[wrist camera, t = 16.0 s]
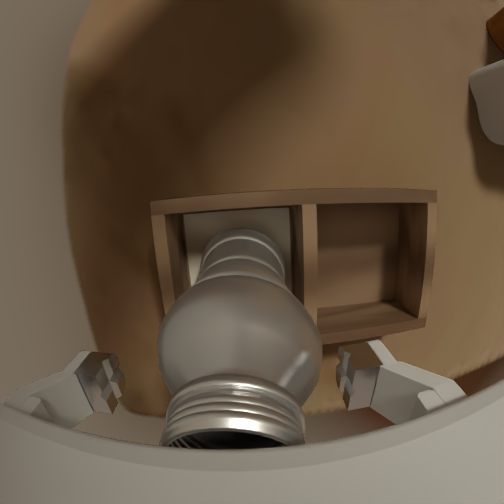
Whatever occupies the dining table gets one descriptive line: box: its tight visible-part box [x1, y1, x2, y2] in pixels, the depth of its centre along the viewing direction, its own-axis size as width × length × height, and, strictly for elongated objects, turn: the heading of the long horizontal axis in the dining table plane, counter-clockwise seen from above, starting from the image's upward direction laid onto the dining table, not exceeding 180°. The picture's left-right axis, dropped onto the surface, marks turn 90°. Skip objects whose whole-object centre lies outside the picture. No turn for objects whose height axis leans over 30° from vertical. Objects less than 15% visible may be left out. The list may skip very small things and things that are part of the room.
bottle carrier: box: [150, 188, 437, 345], centre depth 23 cm, size 12×22×6 cm, turn 94°
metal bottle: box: [157, 228, 322, 449], centre depth 15 cm, size 6×7×20 cm
